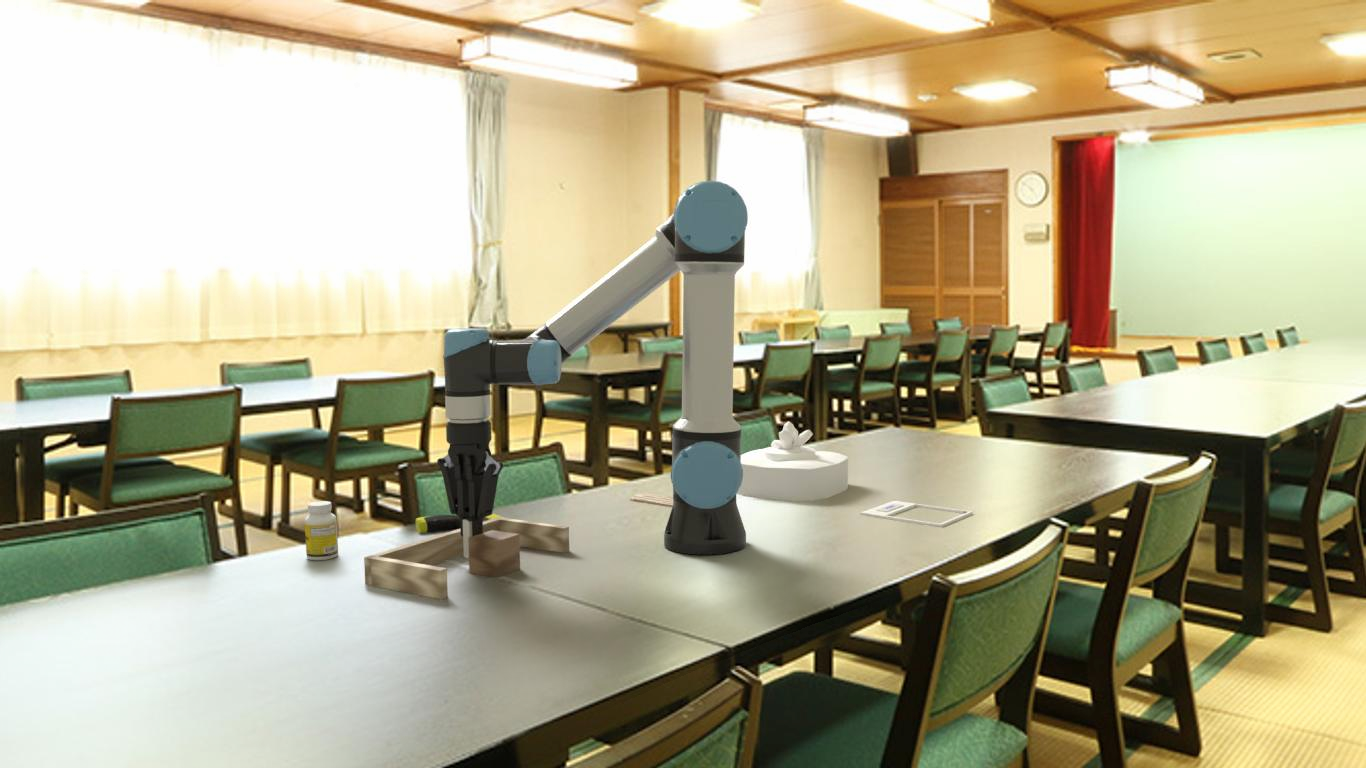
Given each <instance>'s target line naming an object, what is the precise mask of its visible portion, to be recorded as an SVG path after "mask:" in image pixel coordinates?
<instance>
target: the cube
mask: <svg viewBox="0 0 1366 768" xmlns="http://www.w3.org/2000/svg"><path fill="white" fill-rule="evenodd" d="M468 544H469V558H468V566H469V567H468V568H469V569H468V570H469V571H468V572H469V574H476V575H481V576H487V577H493V578H499V577H501V576H504V575H507V574H510V573H513V572H515V571H518V570H520V569H521V553H520V551H521V549H520V547H521V546H520V544H519V534H515V533H508V532H501V531H494V530H491V531H488V532H485V533H481V534H478V535H475V536H472V537H469V538H468Z"/></svg>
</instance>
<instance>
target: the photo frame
mask: <svg viewBox="0 0 1366 768" xmlns="http://www.w3.org/2000/svg"><path fill="white" fill-rule="evenodd" d="M913 508H921V509H922V508H923V509H928V510H929V509H930V510H935V511H936V510H937V511H943V512H948V513H949V512H951V513H957V514H959V515H957V516H954V517H952V518H950V519H947V520H944V521H942V522H940V523H937V522H933V521H923V520H917V519H911V518H904V517H899V516H894V515H897V514H899V513H903V512H904V511H907V510H910V509H913ZM859 513H860V516H866V517H871V518H878V519H885V520H890V521H891V520H892V521H898V522H905V523H911V524H918V525H922V526H923V525H925V526H931V527H936V528H937V527H938V528H943V527H944V526H947V525H949V524H953V523H955V522H958V521H959V520H962V519H964V518H966V517H969V516H972V515H973V513H974V512H973V511H970V510H964V509H962V510H961V509H957V508H956V509H955V508H948V507H943V506H937V505H936V506H935V505H929V504H927V505H926V504H921V503H920V504H919V503H914V502H907V501H898V500H892V501H890V502H886V503H883V504H880V505H879V506H875V507H873V508H870V509H867V510H864V511H861V512H859Z"/></svg>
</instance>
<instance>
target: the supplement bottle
mask: <svg viewBox="0 0 1366 768" xmlns="http://www.w3.org/2000/svg"><path fill="white" fill-rule="evenodd" d="M332 507H333V506H332V502H331V501H330V500H329V501H327V500H321V501H320V500H319V501H318V500H317V501H313V502H310V503H308V504H307V510H308V511H307V512H308V514H309V515H307V516H306V517H305V519H304V531H305V532H304V533H305V536H304V537H305V551H306V552H305V553H306V558H307V559H308V560H309V561H326V560H331V559H335V558H336V557H338V556H339V541H338V538H339V537H338V523H337V517H336V514H334V513H332V512H331V511H332V510H333V508H332Z"/></svg>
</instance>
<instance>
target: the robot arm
mask: <svg viewBox="0 0 1366 768" xmlns="http://www.w3.org/2000/svg"><path fill="white" fill-rule="evenodd" d="M748 216H749V215H748V209H747V206H746V204H745V201H744V199H743V197H742V195H741V194H740V193H739V192H738V191H737V190H736V189H735V188H734V187H732V186H731V185H729V184H727V183H724V182H721V181H717V180H716V181H715V180H707V181H699V182H696V183H694V184H692V185H690V186H688V187H687V188H686V189H685V190H684V191H683V192H682V193H681V195H680V196H679V197H678V200H677V202H676V203H675V208H674V210H673V213H672V214H671V215H670V216H668V218H667V219H666V220H665V221H663V222H662V223H661V224H660V225H659V226H657V227H655V228H656V230H655V235H654V237H652V238H651V239H650V240H649V241H648V242H646V243H645V244H643V246H641V247H640V248H639V249H637V250H636V251H635V252H634V253H632V254H631V255H630V256H629V257H627V258H626V259H625V260H623V261H622V262H621V263H619V264H618V265H617V266H616V267H615V268H613V269H612V270H610V272H609V273H607V274H606V275H604V276H603V277H602V278H601V279H600V280H598V281H597V282H595V283H594V284H593V285H592V286H591V287H589V288H587V290H586V291H584V292H583V293H581V294H580V295H579V296H577V297H576V298H575V299H574V300H573V301H572V302H570V303H569V304H568V305H567V306H565V307H564V308H563V309H561V310H559V312H557V313H556V314H555V315H554V316H553V317H551V318H550V319H549V320H547V322H545V323H544V324H543V325H541V326H539V328H537V329H536V330H535V331H534V332H532V333H531V334H529V335H528V336H527V337H526V338H523V339H510V340H509V339H507V340H498V339H497V340H496V339H491V337H490V333H489V330H488V329H486V328H480V327H479V328H477V327H476V328H473V327H472V328H470V327H469V328H467V327H466V328H451V329H448V330H447V331H446V332H445V333H444V338H443V339H444V341H443V356H442V359H443V366H444V367H443V368H444V370H443V371H444V394H445V396H444V398H445V400H444V401H445V403H444V404H445V405H444V406H445V418H446V420H449V421H447V422H446V423H445V432H446V433H445V435H446V439H445V440H446V442H447V443H448V444H449V447H448V449H447V454H446V455H445V456H443V457H440V458H438V459H437V461H436V462H437V465H438V467H439V469H440V471H441V473H442V479H443V484H444V488H445V493H446V497H447V503H448V508H449V511H450V515H458V517H459V518H460V531H461V536H462V537H463V548H464V555H463V558H464V559H465V558H466V559H469V544H468V538H469V537H472V536H475V535H478V534H481V533H483V518H484V517H486V516H489V515H492V513H493V511H494V505H495V499H496V493H497V488H498V481H499V475H500V473H501V471H502V470H503V467H504V464H503V462H502V461H496V460H495V459H494V458H493V457H492V450H490V442H491V441H492V437H493V436H492V422H491V421H490V419H488V418H490V417H492V415H491V413H492V412H491V410H492V409H491V385H495V386H496V385H536V386H543V385H553V384H557V383H559V381H560V379H561V375H562V364H563V363H565V361H567V360H568V359H569V358H570V357H572V356H573V355H575V354H576V353H577V352H578V351H579V350H580V349H582V348H583V347H584V346H586V345H587V344H588V343H589V342H591V341H593V339H595V338H596V337H597V336H598V335H599V334H601V333H602V332H604V331H605V330H606V329H607V328H609V327H610V326H611V325H613V324H614V323H616V321H618V320H619V319H620V318H622V317H623V316H624V315H625V314H627V313H628V312H629V311H631V310H632V309H633V308H634V307H636V306H637V305H638V304H639V303H641V302H642V301H643V300H645V299H646V298H647V297H649V296H650V295H651V294H652V293H654V292H655V291H656V290H658V288H660V287H661V286H663V285H664V284H665V283H666V282H668V281H669V280H670V279H672V278H673V277H674V276H675V275H677V274H678V273H679V272H680V271H681V273H682V275H683V283H682V285H683V286H682V289H683V290H682V291H683V293H682V294H683V295H682V296H683V297H682V298H683V299H682V300H683V302H682V358H681V359H682V362H681V363H682V364H681V365H682V366H681V367H682V371H681V373H682V375H681V378H682V379H681V380H682V381H681V389H682V390H681V416H680V418H678V420H677V421H675V423H674V424H673V425H672V434H671V441H672V444H671V445H672V447H671V448H672V452H671V453H672V455H671V459H672V461H671V469H670V479H671V483H672V497H673V506H672V507H671V510H670V514H669V517H668V520H667V523H666V526H665V530H664V533H663V546H664V547H665V548H666V549H668V550H669V551H673V552H674V553H675V552H676V553H681V554H689V555H701V556H702V555H703V556H704V555H721V554H728V553H733V552H737V551H740V550H742V549H744V548H745V547H746V546H747V531H746V529H745V526H744V523H743V520H742V517H741V513H740V511H739V508H738V504H737V494H736V493H737V492H738V490H739V487H740V486H741V483H742V479H743V469H742V467H741V455H742V454H741V453H742V426H741V425H740V423H739V422H737V421H736V420H735V418H734V416H733V414H734V413H733V407H734V406H733V403H734V348H735V347H734V345H735V343H734V342H735V341H734V338H735V298H736V297H735V294H736V293H735V290H736V289H735V288H736V287H735V286H736V283H735V282H736V279H735V277H736V274H737V273H738V271H739V270H740V269H742V267H744V265H745V247H746V245H745V242H746V239H745V237H746V235H745V234H746V230H747V229H746V228H747V226H748V221H749V219H748Z"/></svg>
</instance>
